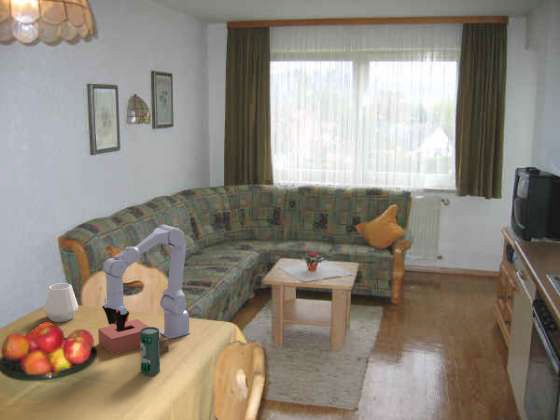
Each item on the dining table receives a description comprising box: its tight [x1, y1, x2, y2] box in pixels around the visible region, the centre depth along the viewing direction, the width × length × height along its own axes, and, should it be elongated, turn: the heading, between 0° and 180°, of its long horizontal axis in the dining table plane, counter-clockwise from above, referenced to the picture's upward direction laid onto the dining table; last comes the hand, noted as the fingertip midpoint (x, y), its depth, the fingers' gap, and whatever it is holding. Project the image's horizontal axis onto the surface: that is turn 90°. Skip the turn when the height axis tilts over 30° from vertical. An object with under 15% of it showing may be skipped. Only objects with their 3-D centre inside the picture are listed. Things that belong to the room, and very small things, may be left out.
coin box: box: [97, 318, 149, 355], centre depth 214 cm, size 16×12×6 cm
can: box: [139, 326, 161, 377], centre depth 192 cm, size 6×6×15 cm
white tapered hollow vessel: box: [43, 282, 79, 323], centre depth 237 cm, size 13×13×14 cm
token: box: [159, 336, 169, 355], centre depth 208 cm, size 5×2×5 cm, turn 130°
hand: (116, 327), depth 205 cm, fingers open, 7 cm apart
